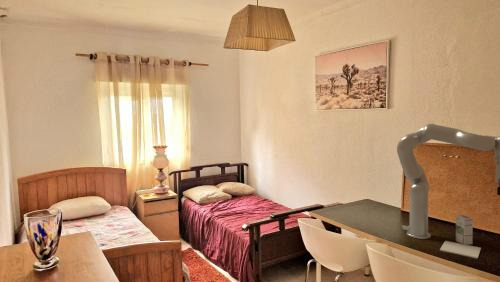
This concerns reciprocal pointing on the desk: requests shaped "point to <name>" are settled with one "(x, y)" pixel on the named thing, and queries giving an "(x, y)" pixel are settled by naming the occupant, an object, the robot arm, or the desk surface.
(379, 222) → the desk surface
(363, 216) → the desk surface
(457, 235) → the syrup box
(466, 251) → the mat
